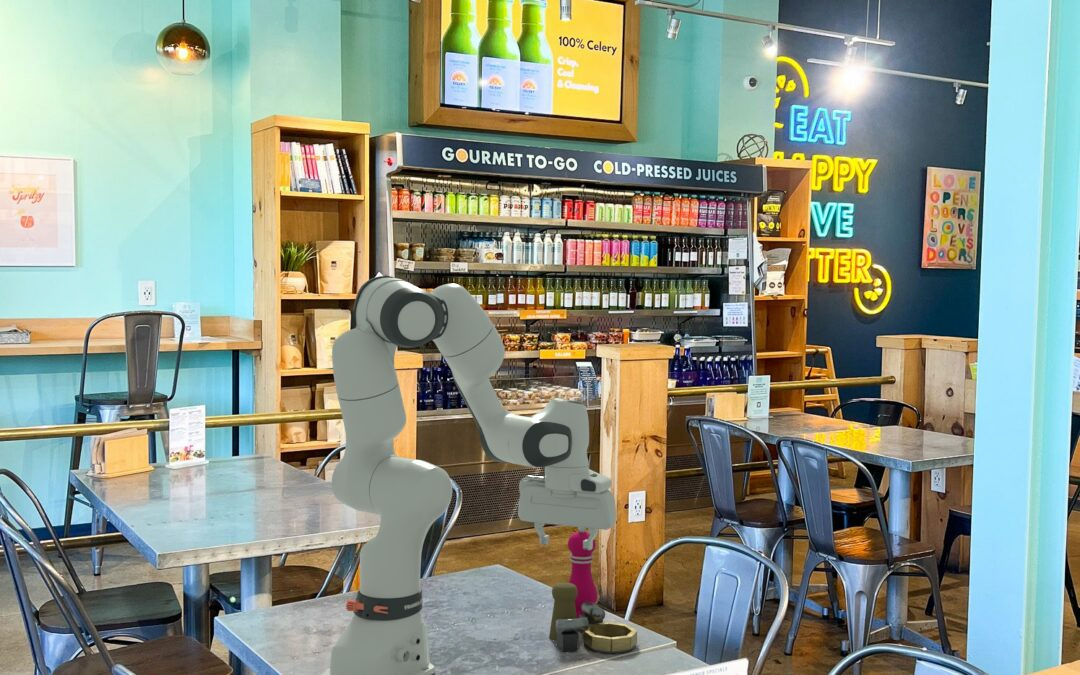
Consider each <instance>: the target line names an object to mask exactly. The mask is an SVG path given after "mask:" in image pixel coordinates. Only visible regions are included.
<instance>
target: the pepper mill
mask: <svg viewBox="0 0 1080 675" xmlns="http://www.w3.org/2000/svg"><path fill="white" fill-rule="evenodd" d="M590 535H591V533H588V531H587V528H585V527H577V531H576V532H575V531H574V532H573V533H572V534H570V536H569V537H568V541H567V547H568V550H569V552H571V553H570V554H569V557H570V558H569V561H570V562H571V573H570V577H569V579H568V582H567V583H572V584H574V585H575V586H576V588H577V591H578V595H577V598H576V599H575V608H576V617H577V618H579V614H581V613H584V612H583V611H582V604H583V603H584V602H585V601H591V602H592V603H594V604H595V605H596V603H597V601H598V590H597V587H596V584H595V581H594V580H593V579H594V578H593V576H592V568H591V567H592V562H593V561H594V555H593V552H594V551H595V550H596V546H597V544H596V538H594V540H593V548H592V549H591V550H585V549H583V546H584V545H583V541H584V540H586V539H588V538H589V536H590Z"/></svg>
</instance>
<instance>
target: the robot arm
mask: <svg viewBox="0 0 1080 675" xmlns="http://www.w3.org/2000/svg"><path fill="white" fill-rule="evenodd" d="M354 299H355V300H354V307H353V311H352V315H351V317H350V325H351V327H352V328H351V329H349V330H347V331H345V332H343V333H342V334H340V335H338V337H337V338H336V339H335V340H334V342H333V345H332V346H331V348H332V349H331V361H332V373H333V374H332V375H333V378H334V379H333V380H334V386H335V389H336V395H337V399H338V402H339V407H340V412H341V417H342V421H343V428H344V431H345V432H344V433H345V450H344V454H343V456H342V458H341V459H340V460H339V461H338V463H337V464H336V466H335V467H334V469H333V473H332V477H331V489H332V492H333V495H334V497H335V498H336V500H337V501H338V502H340V503H342V504H343V505H345V506H347V507H349V508H352V509H353V510H355V511H358V512H363V513H368V514H374V515H378V516H380V522H379V527H378V531H377V533H376V535H375V536H374V537H373V538H370V539H369V540H368V541H367V542H365V543H364V545H362V547H361V550H360V555H359V589H358V590H357V594H356V597H355V600H354V599H348V600H346V603H345V609H346V611H347V612H353V613H354V614H353V616H352V618H351V620H350V621H349V622H348V624H347V625H346V626H345V628H344V630H343V631H342V633H341V635H340V636H339V638H337V640H336V642H335V644H334V645H333V646H332V650H331V654H330V667H328V668H327V669H325V671H323V672H322V673H321V674H320V675H434V674H435V673H436V668H435V665H434V664H432V663H431V661H430V647H429V635H428V634H429V633H428V627H427V624H426V622H425V620H424V618H423V616H422V613H421V611H422V609H423V603H424V602H423V601H424V596H423V590H422V588H421V567H422V566H421V564H422V563H421V562H422V552H423V547H424V546H423V545H424V542H425V539H426V536H427V534H428V532H429V530H430V529H431V527H432V525H433V523H434V522H435V521H437V519H439V518H440V517H441V516H443V515H444V514H445V512H446V511H447V510H448V507H449V506H450V504H451V501H452V497H453V486H452V480H451V478H450V475H449V474H448V472H447V471H446V470H445V469H443V468H441V467H440V466H438V465H435V464H432V463H431V462H428V461H426V460H421V459H414V458H407V457H400V456H397V454H396V452H395V448H394V439H395V438H397V437H398V436H399V435H400V434H401V432H402V431H403V430H404V428H405V426H406V425H407V424H406V423H407V414H406V410H405V406H404V401H403V397H402V391H401V387H400V383H399V379H398V375H397V370H396V367H395V355H396V350H397V347H400V348H409V349H410V348H416V347H421V346H423V345H425V344H427V343H429V342H431V341H433V342H434V344H435V345H436V347H437V349H438V350H439V352H440V354H441V355H442V357H443V358H444V360H445V362H446V363H447V365H448V367H449V368H450V370H451V375H452V378H453V382H454V384H455V386H456V387H457V390H458V392H459V394H460V396H461V397H462V400H463V401H464V404H465V405H466V406H467V409H468V410H469V413H470V414H471V416H472V419H473V420H474V423H475V425H476V427H477V431H478V434H479V440H480V445H481V447H482V449H483V452H484V453H485V455H486V456H487V457H488V458H489V459H490V460H492V461H493V462H496V463H497V462H498V463H505V464H514V465H519V466H523V467H530V468H534V469H540V468H544V476H541V475H540V476H538V475H537V476H534V475H526V476H525V477H522V478H520V481H519V488H518V492H519V494H520V495H519V499H518V509H517V515H518V516H517V517H518V518H519V519H520V521H521V522H522V521H523V522H530V523H534V524H533V525H534V530H535V531H536V533H537V535H538V537H539V545H541V546H548V545H549V544H550V534H546V531H545V530H544V527H545V524H548V525H557V526H568V527H576V528H578V527H585V528H586V529H587V532H588V533H590V534H591V535H590V536H589V538H588V539H586V540H584V541H583V545H584V546H583V549H585V550H591V549H592V548H593V540H594V539H596V536H597V535H598V533H599V530H609V529H612V528H613V527H614V525H615V524H616V522H617V511H616V509H617V508H616V500H615V496H614V494H613V492H612V491H611V490H609V489H611V488H612V483H613V482H612V481H613V480H612V479H611V478H610V477H609V476H606V475H604V474H601V473H598V472H596V471H594V470H592V469H590V466H589V464H590V462H589V459H588V448H589V445H590V425H589V424H590V422H589V421H590V420H589V414H588V409H587V407H586V405H585V404H583V403H582V402H580V401H577V400H571V399H565V398H558V397H556V398H550V400H548V403H547V404H546V405H545V407H544V408H542V409H541V410H540V411H538V412H537V413H535V414H533V415H530V416H524V415H518V414H517V413H513V412H511V411H509V410H507V409H506V408H505V407H504V406H503V405H502V403H501V401H500V399H499V397H498V394H497V393H496V391H495V389H494V387H493V386H492V382H491V381H490V378H492V376H493V375H494V374H496V373H497V371H499V369H500V367H501V366H502V364H503V361H504V358H505V353H506V352H505V351H506V348H505V346H504V342H503V340H502V337H501V335H500V333H499V332H498V330H497V329H496V327H495V325H494V324H493V321H492V320H491V319H490V318H489V316H488V314H487V313H486V312H485V310H484V308H483V307H482V306H481V305H480V303H479V302H478V301H477V300H476V299H475V298H474V296H473V295H472V294H471V293H470V292H469V291H468V290H467V289H466V288H465V287H464V286H462V285H460V284H457V283H446V284H442V285H439V286H437V287H436V288H434V289H432V290H431V291H427V290H426V289H423V288H419V287H418V286H417V285H414V284H413V283H411V282H409V281H407V280H404V279H401V278H396V277H394V276H392V275H391V276H390V275H379V276H375V277H372V278H370V279H368V280H367V281H365V282H364V283H363V284H362V285H361V286H360V288H359V290H358V291H357V294H356V297H355V298H354Z"/></svg>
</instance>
